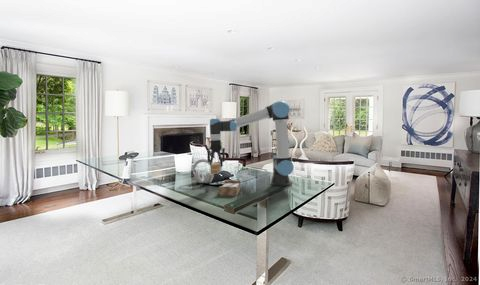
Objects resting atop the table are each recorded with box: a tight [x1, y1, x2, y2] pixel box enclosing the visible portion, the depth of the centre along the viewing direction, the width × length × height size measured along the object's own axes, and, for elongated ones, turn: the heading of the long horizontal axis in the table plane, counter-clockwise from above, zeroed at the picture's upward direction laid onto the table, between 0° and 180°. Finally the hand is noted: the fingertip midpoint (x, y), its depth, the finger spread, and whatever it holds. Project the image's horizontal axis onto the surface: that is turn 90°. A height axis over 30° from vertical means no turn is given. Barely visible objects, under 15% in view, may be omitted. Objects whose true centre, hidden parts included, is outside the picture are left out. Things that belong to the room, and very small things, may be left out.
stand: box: [218, 179, 241, 197], centre depth 191 cm, size 12×20×6 cm, turn 171°
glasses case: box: [210, 161, 223, 175], centre depth 194 cm, size 5×14×6 cm, turn 171°
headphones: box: [192, 158, 215, 184], centre depth 216 cm, size 18×10×20 cm, turn 79°
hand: (216, 171), depth 194 cm, fingers closed on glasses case, 5 cm apart
